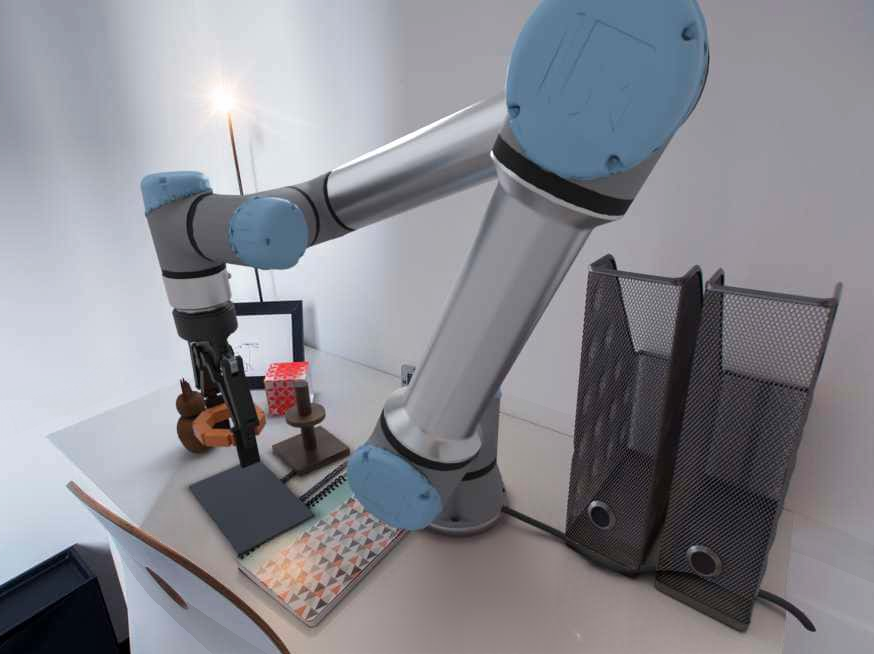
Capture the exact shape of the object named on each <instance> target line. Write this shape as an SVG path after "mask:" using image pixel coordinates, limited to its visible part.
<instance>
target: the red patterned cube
mask: <svg viewBox="0 0 874 654" xmlns="http://www.w3.org/2000/svg"><path fill="white" fill-rule="evenodd" d="M298 381H306V382H308V387H309V393H310V400H311V403H314V402H313V400H314V396H315V392H314V385H313V384H314V383H313V377H312V369H311V364H310V361H293V362H271V363H270V365H269V367H268V369H267V372H266V374H265V376H264V379H263V384H264V391H265V395H266V396H265V397H266V401H267V407H268V411H269V416H272V417H273V416H285V413H286V411H287V410H288V409H289V408H291V407H293V406H295V405H296V398H295V392H294V386H293V385H294V383H295V382H298Z"/></svg>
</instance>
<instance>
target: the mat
mask: <svg viewBox="0 0 874 654" xmlns="http://www.w3.org/2000/svg"><path fill="white" fill-rule="evenodd" d="M188 488H189V490H190V491H191V492H192V494H193V495H194V496H195V497H196V499H197V501H198V502H199V503H200V504H201V506H202V507H203V508H204V510H205V511H206V512H207V513H208V515H209V516H210V518H211V519H212V521H213V523H214V524H215V525H216V526H217V527H218V528H219V530H220V532H221V533H222V535H224V537H225V538H226V540H227V541H228V542H229V543H230V545H231V546H232V547H233V549H234V550H235V552H236V553H237V555H238V556H241V555H244V554H245V553H247V552H249V551H251V550H253V549H255V548H257V547H259V546H262V545H263V544H265V543H267V542H269V541H271V540H272V539H275V538H276V537H279V536H280V535H282V534H283V533H285V532H287V531H289V530H292V529H293V528H295V527H297V526H299V525H301V524H303V523H305V522H307V521H309V520H311V519H313V518H314V517H316V514H315V512H313V511H312V510H311V509H310V508H309V507H308V506H307V505H306V504H305V503H304V502H303V501H302V500H301V498H299V497H298V496H297V495H296V494H295V493H294V492H293V491H292V490H291V489H290V488H289V487H288V486H287V485H286V484H285V483H284V482H283V481H282V480H281V479H280V478H279V477H278V476H276V474H275V473H274V472H273V471H272V470H271V469H269V467H268V466H266V464H265V463H264V462H263V461H260V462H257V463H255V464H253V465H250V466H248V467H246V468H243V469H242V467H241V466H240V463H239V464H237V465H235V466H232V467H230V468H228V469H226V470H223V471H221V472H218V473H216V474H214V475H210V476H209V477H205V478H204V479H202V480H199V481H197V482H194V483H192V484H189V485H188Z"/></svg>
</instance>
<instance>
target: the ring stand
mask: <svg viewBox="0 0 874 654" xmlns="http://www.w3.org/2000/svg"><path fill="white" fill-rule="evenodd" d="M293 386H294V392H295V398H296V405H295V406H293V407H291V408H289V409H288V410H287V411H286V413H285V415H284V419H285V423H286V424H287V425H288V426H290V427H292V428H297V429H300V433H297V434H296V435H293V436H291V437H288V438H286V439H284V440H282V441H279V442H277V443H274V444H271V449H272V453H273V454H274V455H276V457H278V458H279V460H281V461H282V462H283V463H284V464H285V465H287V467H288V468H290V470H291V471H293V472H294V473H295V474H296V475H297V477H299V478H302V477H304V476H307V475H309V474H311V473H313V472H315V471H317V470H320V469H322V468H324V467H326V466H329V465H330V464H332V463H335V462H337V461H339V460H341V459H343V458H346V457H348V456H350V455H351V450H350V449H351V448H350V446H348V445H347V444H346V443H344V442H343V441H341V440H340V439H339V438H338V437H337V436H335V435H334V434H333V433H331V432H330V431H328V430H327V429H326V428H325V427H323V426H321V425H319V424H321V423H322V422H323V421H325V419H326V416H327V414H326V408H325V407H324V405H322V404H319V403H316V402H312V403H311V400H310V393H309V387H308V382H306V381H298V382H295V383H294V385H293Z"/></svg>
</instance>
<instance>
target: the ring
mask: <svg viewBox="0 0 874 654" xmlns="http://www.w3.org/2000/svg"><path fill="white" fill-rule="evenodd" d="M254 406H255V409H256V412H257V416H258V419H259V422H260V426H257V427H255V428H254V431H255V436H256V437H258V436H260V435H261V433H262V431H263V430H264V428H265V426H266V425H267V419H266V413H265V410H263V409H262V408H261V407H260V406H259V405H258V404H256V402H254ZM226 419H229V420H230V419H231V417H230V414H229V412H228V409H227V406H226V404H225V403H223V404H220V405H217V406H215V407H212V408H209V409H206V411H202V413H201V414H200V415H199V416H198V417H197V418H196V420H195V421H194V422H193V425H192V426H193V430H194V434H195V436H196V437H197V438H198V439H199V441H200V442H201V443H202V444H203V445H206V446H213V448H214V447H218V448H230V447H231V446H233V447H236V444H235V440H234V436H233V433H231V432H230V430H229V429H212V427H213V426H214V425H215V423H218V422H220V421H223V420H226Z"/></svg>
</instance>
